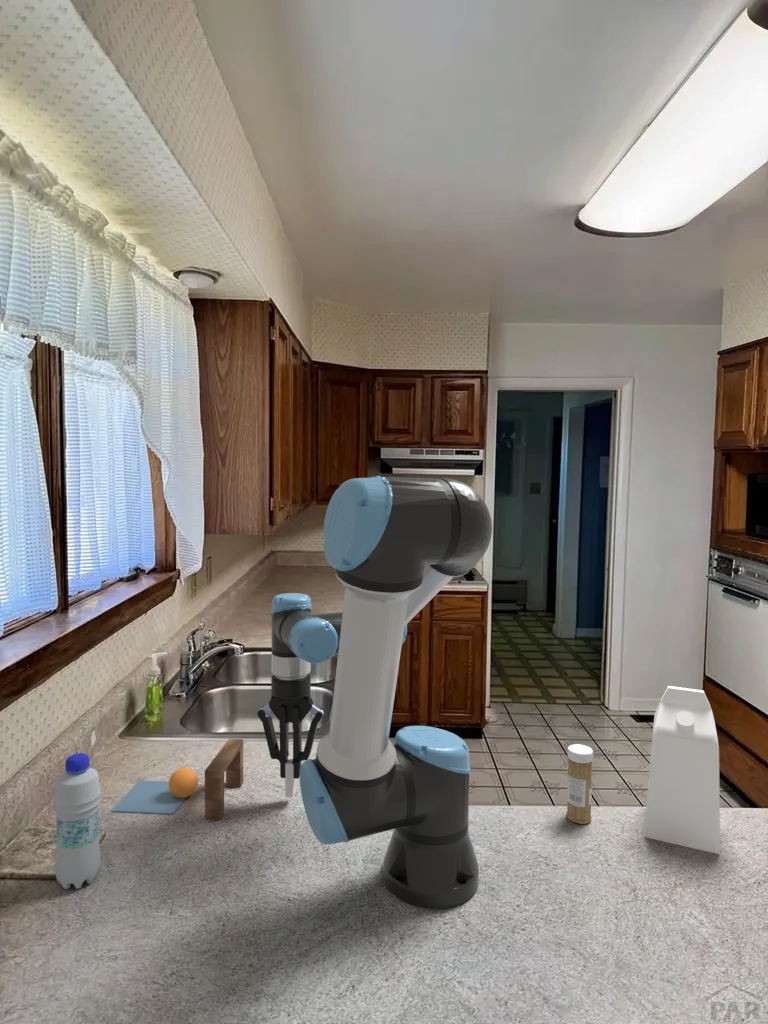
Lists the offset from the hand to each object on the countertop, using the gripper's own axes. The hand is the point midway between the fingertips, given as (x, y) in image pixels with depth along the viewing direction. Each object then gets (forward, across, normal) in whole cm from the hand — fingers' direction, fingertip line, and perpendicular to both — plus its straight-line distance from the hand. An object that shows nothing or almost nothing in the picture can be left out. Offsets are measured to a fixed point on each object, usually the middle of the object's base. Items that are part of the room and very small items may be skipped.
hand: (290, 793), depth 122 cm
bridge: (+2, +13, 0) cm, 13 cm away
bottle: (+2, +28, +26) cm, 38 cm away
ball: (-1, +22, -1) cm, 22 cm away
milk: (+2, -73, +3) cm, 73 cm away
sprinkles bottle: (+2, -55, +1) cm, 55 cm away
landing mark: (+2, +27, 0) cm, 27 cm away
